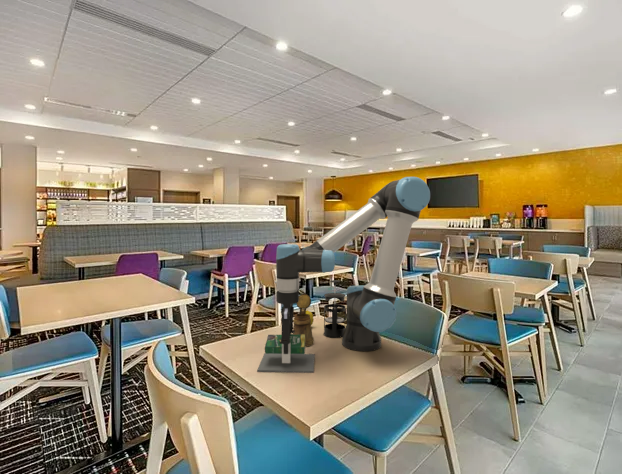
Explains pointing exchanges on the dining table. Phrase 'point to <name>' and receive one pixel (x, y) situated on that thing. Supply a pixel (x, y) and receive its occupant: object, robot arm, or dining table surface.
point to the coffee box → (276, 348)
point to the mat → (297, 363)
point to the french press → (334, 315)
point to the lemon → (310, 316)
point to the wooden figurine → (303, 320)
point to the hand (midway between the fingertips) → (287, 357)
